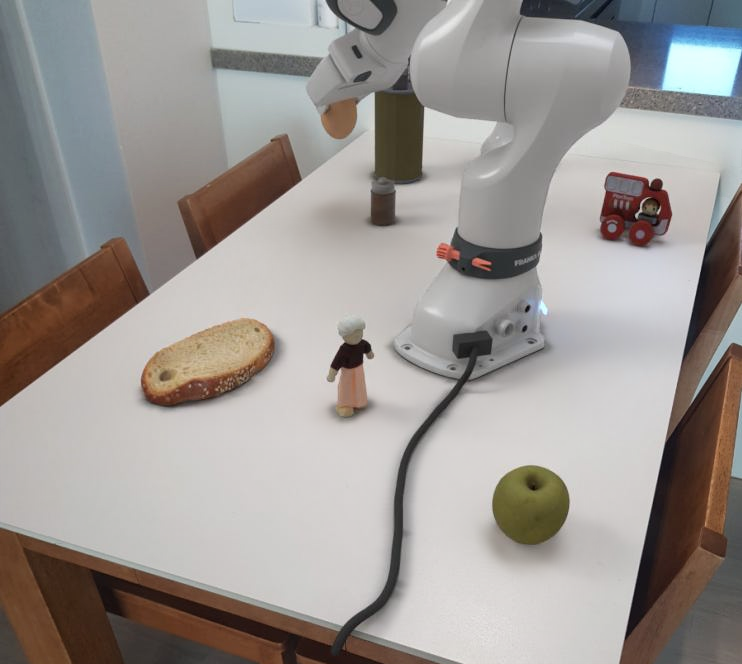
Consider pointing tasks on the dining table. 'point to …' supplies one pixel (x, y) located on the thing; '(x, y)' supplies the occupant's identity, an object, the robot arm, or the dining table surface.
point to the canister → (399, 132)
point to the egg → (340, 118)
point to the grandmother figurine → (350, 366)
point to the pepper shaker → (383, 202)
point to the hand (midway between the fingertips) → (335, 106)
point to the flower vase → (498, 137)
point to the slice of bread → (208, 362)
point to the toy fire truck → (634, 208)
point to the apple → (530, 504)
